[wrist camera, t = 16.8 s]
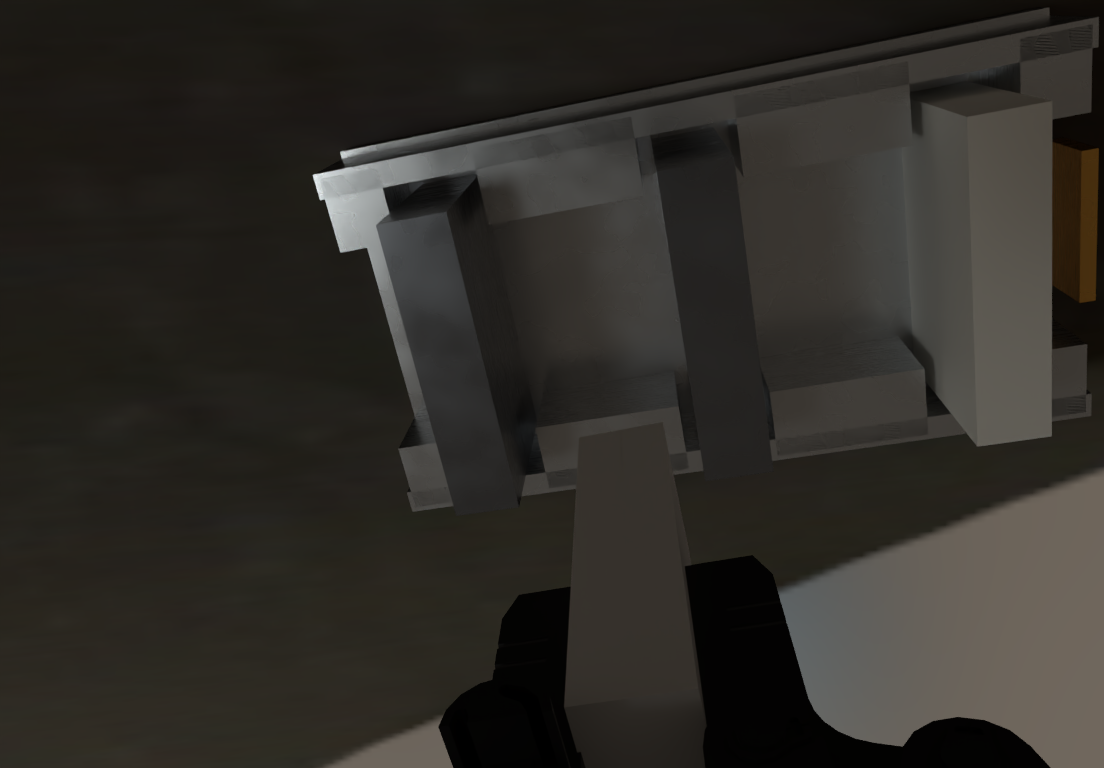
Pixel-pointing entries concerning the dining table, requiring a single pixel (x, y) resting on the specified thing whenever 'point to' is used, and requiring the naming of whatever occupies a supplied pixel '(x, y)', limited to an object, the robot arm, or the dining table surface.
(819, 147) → the rack
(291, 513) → the dining table surface
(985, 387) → the panel
